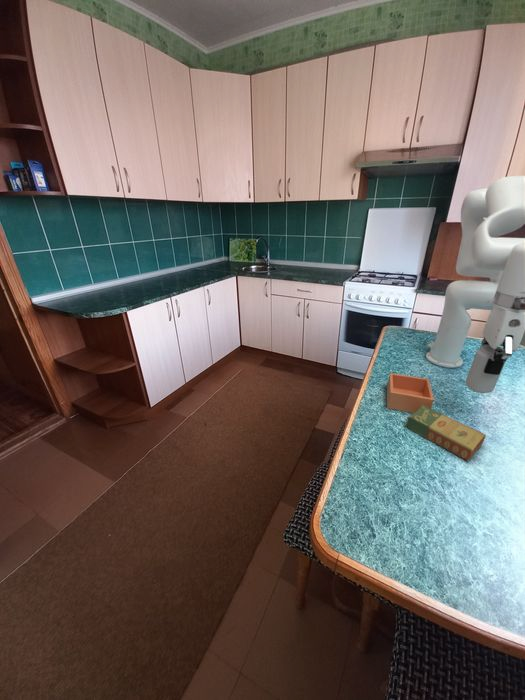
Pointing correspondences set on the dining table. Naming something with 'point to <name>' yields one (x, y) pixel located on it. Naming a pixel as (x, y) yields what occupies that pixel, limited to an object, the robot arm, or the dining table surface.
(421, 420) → the carton
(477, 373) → the beverage can
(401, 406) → the bin
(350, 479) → the dining table surface
